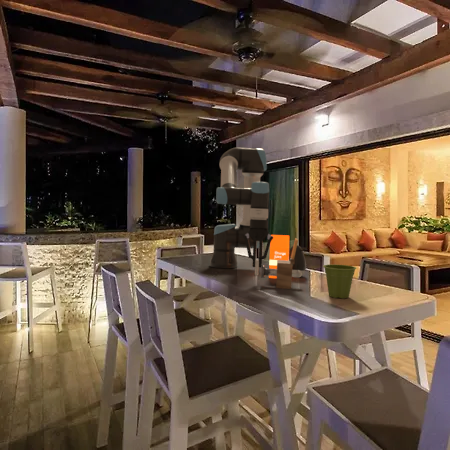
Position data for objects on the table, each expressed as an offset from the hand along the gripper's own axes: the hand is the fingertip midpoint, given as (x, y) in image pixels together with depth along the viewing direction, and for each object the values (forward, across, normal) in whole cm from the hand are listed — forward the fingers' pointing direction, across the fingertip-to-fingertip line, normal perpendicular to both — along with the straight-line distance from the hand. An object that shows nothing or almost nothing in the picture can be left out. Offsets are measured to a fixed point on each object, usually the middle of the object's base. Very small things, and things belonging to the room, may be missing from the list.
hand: (256, 274), depth 151 cm
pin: (+1, +10, 0) cm, 10 cm away
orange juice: (+4, +9, +21) cm, 23 cm away
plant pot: (+4, +31, -13) cm, 34 cm away
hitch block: (+4, +11, 0) cm, 12 cm away
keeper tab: (-11, +14, 0) cm, 18 cm away
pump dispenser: (+4, +17, +26) cm, 32 cm away
